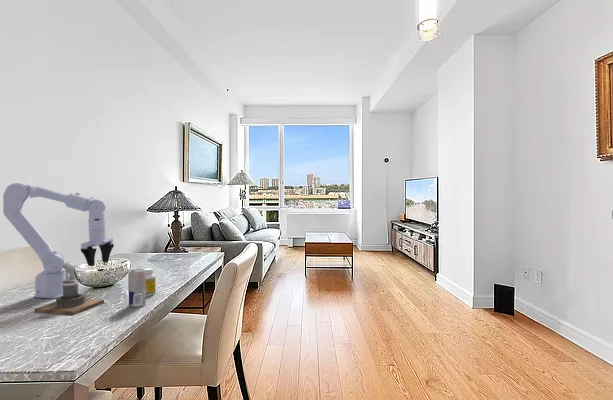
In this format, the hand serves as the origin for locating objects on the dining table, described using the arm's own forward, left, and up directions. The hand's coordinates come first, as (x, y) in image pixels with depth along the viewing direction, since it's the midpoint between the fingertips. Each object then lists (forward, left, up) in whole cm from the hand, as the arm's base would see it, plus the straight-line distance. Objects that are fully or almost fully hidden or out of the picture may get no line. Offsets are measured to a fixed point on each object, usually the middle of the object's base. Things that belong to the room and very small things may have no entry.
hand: (98, 263), depth 147 cm
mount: (+8, -21, -10) cm, 25 cm away
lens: (+8, -21, -9) cm, 25 cm away
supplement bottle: (+24, -2, -11) cm, 26 cm away
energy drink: (+29, -15, -11) cm, 34 cm away
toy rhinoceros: (-22, +7, -11) cm, 26 cm away
